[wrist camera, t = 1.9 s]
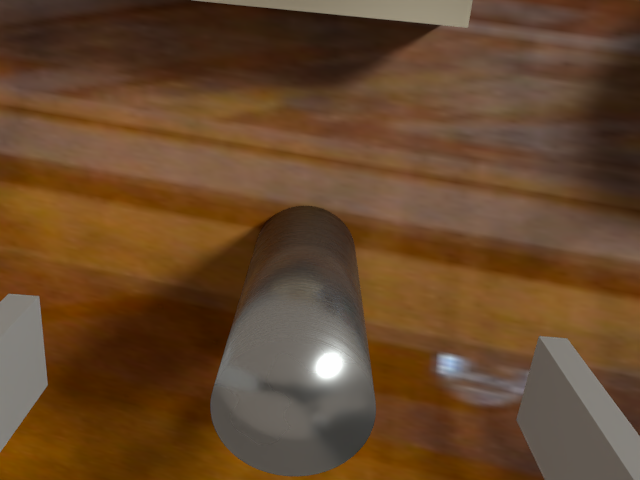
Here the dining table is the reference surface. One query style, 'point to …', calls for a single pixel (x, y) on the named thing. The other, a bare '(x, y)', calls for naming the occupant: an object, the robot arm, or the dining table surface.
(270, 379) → the grey metal rod
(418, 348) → the dining table surface
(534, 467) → the dining table surface
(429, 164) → the dining table surface
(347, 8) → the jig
